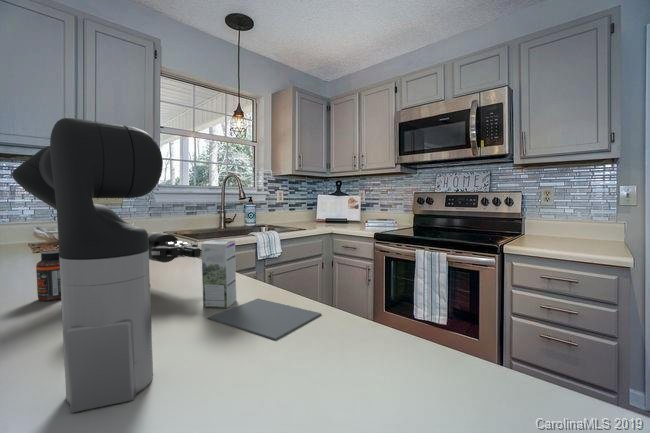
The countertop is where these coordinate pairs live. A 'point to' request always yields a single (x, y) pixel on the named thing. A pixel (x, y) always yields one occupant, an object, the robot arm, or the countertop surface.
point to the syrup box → (218, 273)
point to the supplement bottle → (49, 276)
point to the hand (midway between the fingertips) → (197, 252)
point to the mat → (265, 318)
